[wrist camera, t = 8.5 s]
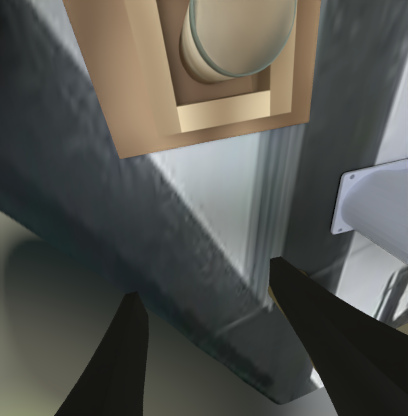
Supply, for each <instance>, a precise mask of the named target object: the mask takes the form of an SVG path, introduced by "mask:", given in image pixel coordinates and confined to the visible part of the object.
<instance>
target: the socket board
mask: <svg viewBox="0 0 408 416" xmlns="http://www.w3.org/2000/svg"><path fill="white" fill-rule="evenodd" d="M62 1H63V3H64V6H65V9H66V12H67V14H68V17H69V20H70V23H71V25H72V28H73V31H74V34H75V36H76V39H77V42H78V45H79V47H80V50H81V53H82V56H83V58H84V61H85V64H86V67H87V70H88V72H89V75H90V78H91V81H92V83H93V86H94V89H95V92H96V94H97V97H98V100H99V103H100V105H101V108H102V111H103V114H104V116H105V119H106V122H107V125H108V127H109V130H110V133H111V136H112V138H113V141H114V144H115V147H116V150H117V152H118V155H119V158H120V159H122V158H127V157H132V156H138V155H143V154H148V153H153V152H158V151H163V150H168V149H173V148H178V147H184V146H189V145H194V144H199V143H204V142H209V141H214V140H219V139H224V138H229V137H235V136H240V135H245V134H250V133H255V132H260V131H265V130H270V129H275V128H280V127H286V126H291V125H296V124H301V123H306V122H309V114H310V104H311V94H312V84H313V74H314V64H315V54H316V44H317V34H318V24H319V14H320V4H321V0H297V4H296V14H295V19H294V24H293V27H292V30H291V33H290V36H289V38H288V41H287V43H286V44H285V46H284V48H283V50H282V51H281V53H280V54H279V55H278V57H277V58H276V59H275V60H274V61H273V62H272V63H271V64H270V65H269V66H267V67H266V68H265V69H263V70H261V71H260V72H257V73H255V74H252V75H248V76H244V77H237V78H233V79H229V80H226V81H222V82H219V83H215V84H209V85H207V84H201V83H199V82H197V81H195V80H193V79H192V78H191V77H190V76H189V75H188V74H187V72H186V71H185V69H184V68H183V65H182V63H181V60H180V56H179V49H178V46H179V37H180V33H181V29H182V26H183V23H184V19H185V16H186V12H187V9H188V6H189V2H190V0H62Z"/></svg>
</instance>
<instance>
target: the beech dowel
mask: <svg viewBox="0 0 408 416" xmlns="http://www.w3.org/2000/svg"><path fill="white" fill-rule="evenodd" d="M296 4H297V0H190V2H189V6H188V9H187V12H186V16H185V19H184V23H183V26H182V29H181V33H180V37H179V46H178V49H179V56H180V60H181V63H182V65H183V68H184V69H185V71H186V72H187V74H188V75H189V76H190V77H191V78H192V79H193V80H195V81H197V82H199V83H201V84H207V85H209V84H215V83H219V82H222V81H226V80H229V79H233V78H237V77H244V76H248V75H252V74H255V73H257V72H260V71H261V70H263V69H265V68H266V67H267V66H269V65H270V64H271V63H272V62H273V61H274V60H275V59H276V58H277V57H278V55H279V54H280V53H281V51H282V50H283V48H284V46H285V44H286V43H287V41H288V38H289V36H290V33H291V30H292V27H293V24H294V19H295V14H296Z"/></svg>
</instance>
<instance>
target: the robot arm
mask: <svg viewBox="0 0 408 416" xmlns="http://www.w3.org/2000/svg"><path fill="white" fill-rule="evenodd" d="M351 175H352V176H351ZM354 229H355V230H356V231H358V232H359V233H361V234H362V235H364V236H365V237H367V238H368V239H370V240H371V241H373V242H374V243H376V244H377V245H379V246H380V247H382V248H383V249H384V250H386V251H387V252H389V253H390V254H392V255H393V256H395V257H396V258H398V259H399V260H401V261H402V262H404V263H405V264H407V265H408V159H404V160H400V161H395V162H391V163H386V164H382V165H377V166H373V167H369V168H364V169H360V170H355V171H351V172H346V173H344V174H343V175H342V177H341V182H340V187H339V192H338V197H337V202H336V207H335V212H334V217H333V222H332V227H331V233H333V234H338V233H342V232H346V231H350V230H354ZM269 285H270V287H271V290H272V292H273V294H274V296H275V298H276V300H277V302H278V304H279V306H280V307H281V309H282V311H283V312H284V314H285V316H286V317H287V319H288V321H289V322H290V324H291V326H292V327H293V329H294V330H295V332H296V334H297V335H298V337H299V339H300V340H301V342H302V344H303V345H304V347H305V349H306V351H307V352H308V354H309V356H310V358H311V360H312V362H313V364H314V366H315V368H316V370H317V372H318V374H319V376H320V378H321V380H322V382H323V384H324V386H325V388H326V390H327V393H328V394H329V397H330V399H331V401H332V403H333V405H334V407H335V410H336V412H337V414H338V416H408V335H406V334H404V333H402V332H400V331H398V330H396V329H394V328H392V327H390V326H388V325H386V324H384V323H382V322H380V321H378V320H376V319H374V318H373V317H371V316H369V315H367V314H365V313H364V312H362V311H360V310H358V309H356V308H355V307H353V306H351V305H350V304H348V303H346V302H345V301H343V300H341V299H340V298H338V297H337V296H335V295H334V294H332V293H330V292H329V291H327V290H326V289H325V288H323V287H322V286H320V285H319V284H317V283H316V282H314V281H313V280H312V279H310V278H309V277H307V276H306V275H305V274H303V273H302V272H301V271H299V270H298V269H297V268H295V267H294V266H293V265H291V264H290V263H289V262H287V261H286V260H285V259H283V258H282V257H281V256H280V257H276V258H272V259H270V275H269ZM148 330H149V328H148V314H147V312H146V309H145V307H144V305H143V303H142V301H141V298H140V296H139V294H138V292H133V293H129V294H125V296H124V297H123V299H122V301H121V303H120V306H119V308H118V310H117V312H116V314H115V316H114V318H113V320H112V322H111V324H110V326H109V328H108V330H107V331H106V333H105V335H104V337H103V339H102V341H101V343H100V344H99V346H98V348H97V350H96V351H95V353H94V355H93V357H92V358H91V360H90V362H89V364H88V365H87V367H86V368H85V370H84V372H83V373H82V375H81V376H80V378H79V380H78V381H77V383H76V384H75V386H74V388H73V389H72V390H71V392H70V394H69V395H68V396H67V398H66V400H65V401H64V402H63V404H62V405H61V407H60V408H59V410H58V411H57V413H56V414H55V415H54V416H143V394H144V382H145V371H146V360H147V348H148V337H149V332H148Z"/></svg>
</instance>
